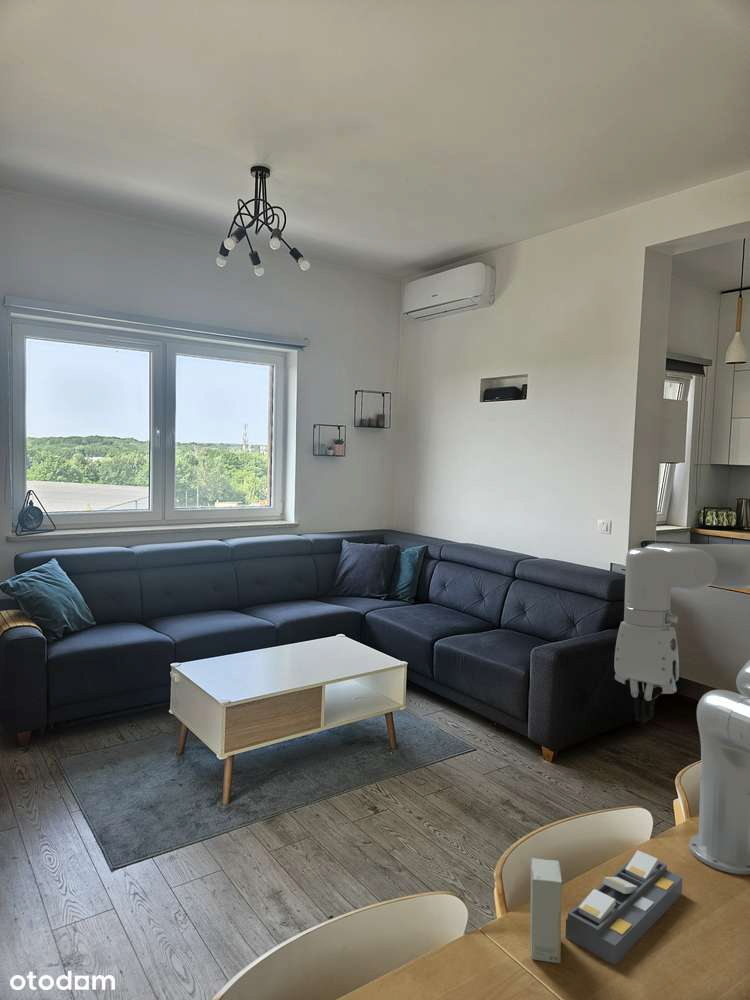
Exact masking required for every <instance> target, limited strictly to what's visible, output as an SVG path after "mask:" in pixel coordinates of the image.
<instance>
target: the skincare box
mask: <svg viewBox="0 0 750 1000" xmlns="http://www.w3.org/2000/svg"><path fill="white" fill-rule="evenodd" d="M561 872H562V871H561V867H560V862H559V860H556V859H549V858H547V859H546V858H540V857H530V910H529V911H530V915H529V917H530V919H529V920H530V922H529V923H530V924H529V925H530V927H529V929H530V932H529V934H530V936H529V937H530V940H529V941H530V957H531V959H532V960H534V961H535V960H536V961H541V962H546V963H547V962H548V963H555V964H561V961H562V960H561V959H562V956H561V955H562V952H561V950H562V947H561V946H562V886H563V885H562V883H563V881H562V873H561Z"/></svg>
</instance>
